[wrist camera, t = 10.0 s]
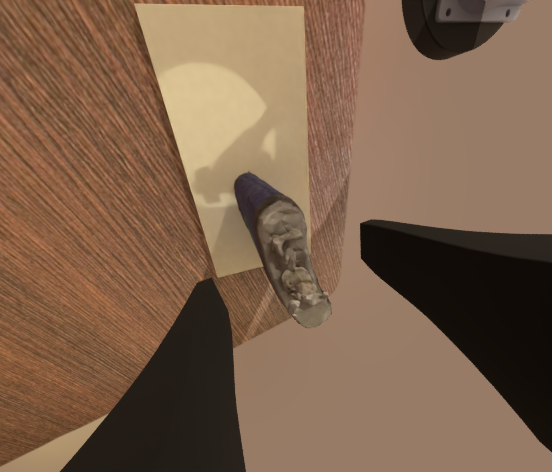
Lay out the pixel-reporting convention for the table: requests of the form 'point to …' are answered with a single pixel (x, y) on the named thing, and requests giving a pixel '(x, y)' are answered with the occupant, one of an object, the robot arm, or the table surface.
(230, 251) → the cake board
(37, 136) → the table surface
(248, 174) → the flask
